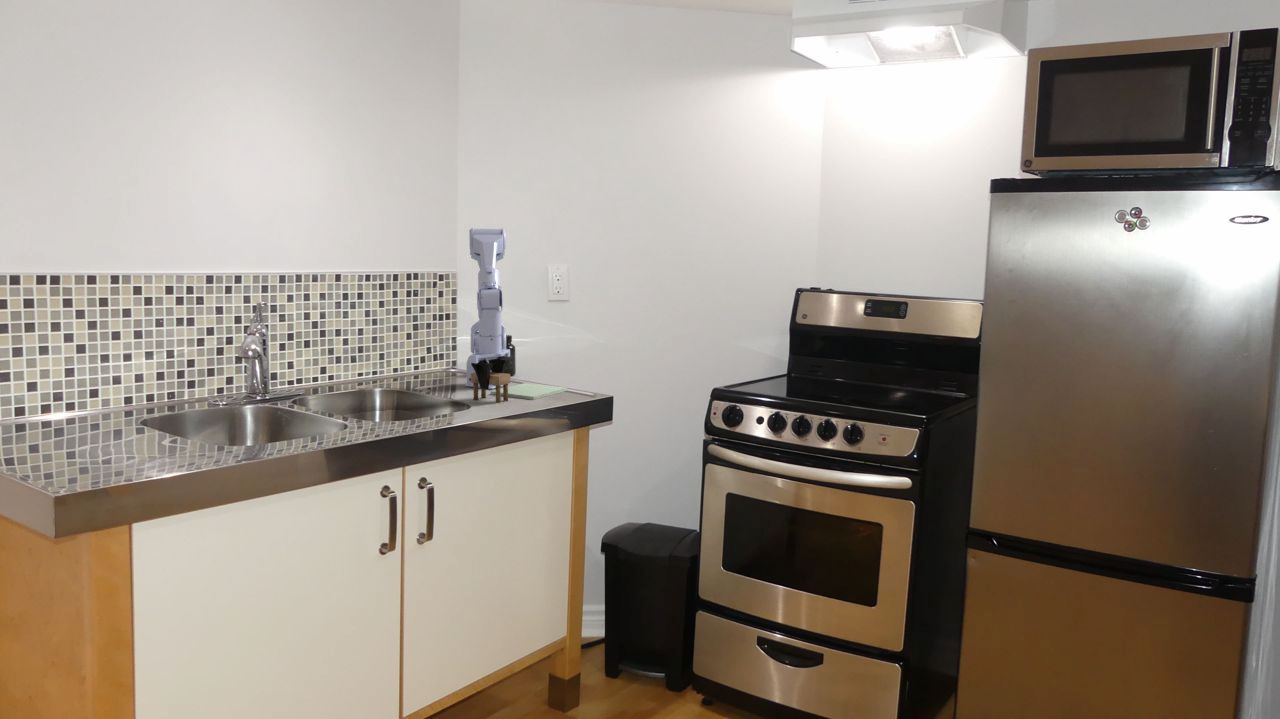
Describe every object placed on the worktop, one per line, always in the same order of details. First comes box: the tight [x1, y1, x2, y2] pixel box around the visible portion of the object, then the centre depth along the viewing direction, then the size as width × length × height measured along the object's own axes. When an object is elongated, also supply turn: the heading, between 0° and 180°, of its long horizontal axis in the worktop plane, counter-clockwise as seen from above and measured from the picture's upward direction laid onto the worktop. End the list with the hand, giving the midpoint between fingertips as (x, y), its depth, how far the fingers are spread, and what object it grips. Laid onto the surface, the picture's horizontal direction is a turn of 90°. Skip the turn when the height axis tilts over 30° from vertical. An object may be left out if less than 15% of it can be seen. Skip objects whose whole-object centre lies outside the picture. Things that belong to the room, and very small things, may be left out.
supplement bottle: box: [504, 334, 517, 377], centre depth 291 cm, size 7×7×12 cm
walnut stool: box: [471, 372, 511, 404], centre depth 251 cm, size 9×5×7 cm, turn 61°
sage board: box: [490, 382, 568, 401], centre depth 264 cm, size 14×16×1 cm
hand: (490, 387), depth 251 cm, fingers closed on walnut stool, 5 cm apart
